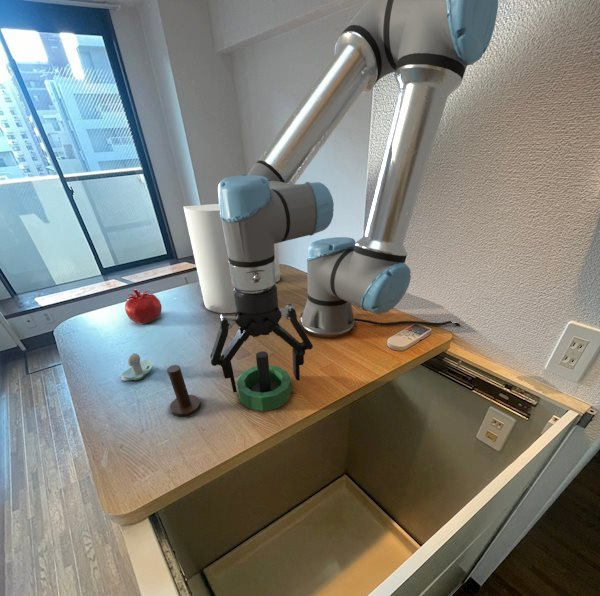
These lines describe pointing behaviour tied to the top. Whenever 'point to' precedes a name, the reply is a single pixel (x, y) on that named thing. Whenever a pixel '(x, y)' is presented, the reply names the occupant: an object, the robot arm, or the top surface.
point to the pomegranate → (143, 307)
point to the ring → (267, 398)
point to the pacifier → (136, 368)
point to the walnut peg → (181, 395)
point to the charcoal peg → (263, 374)
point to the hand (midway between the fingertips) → (266, 382)
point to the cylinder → (211, 257)
